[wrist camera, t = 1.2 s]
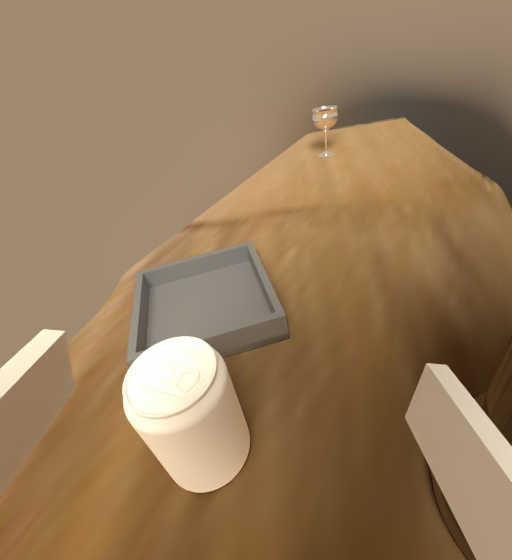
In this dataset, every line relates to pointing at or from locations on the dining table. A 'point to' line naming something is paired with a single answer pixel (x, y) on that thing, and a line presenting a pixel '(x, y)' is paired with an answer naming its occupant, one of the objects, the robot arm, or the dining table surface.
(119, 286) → the dining table surface
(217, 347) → the bin
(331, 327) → the dining table surface
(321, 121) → the wineglass
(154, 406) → the beverage can
